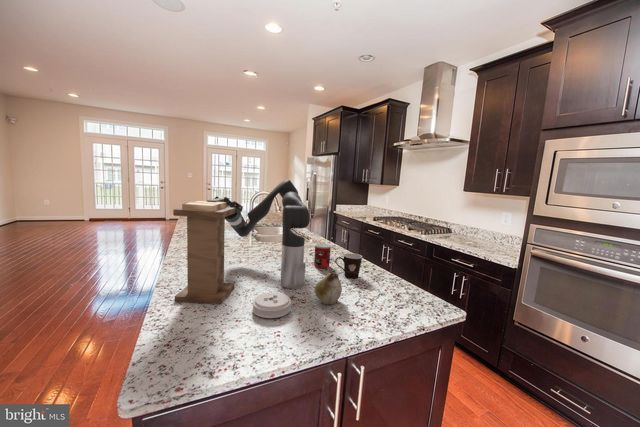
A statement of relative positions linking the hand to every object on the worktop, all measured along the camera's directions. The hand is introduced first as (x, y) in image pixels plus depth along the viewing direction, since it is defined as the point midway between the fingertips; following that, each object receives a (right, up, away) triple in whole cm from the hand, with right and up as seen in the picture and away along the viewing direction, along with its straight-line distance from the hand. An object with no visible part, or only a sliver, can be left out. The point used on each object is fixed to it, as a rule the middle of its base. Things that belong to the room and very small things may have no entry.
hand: (220, 198), depth 109 cm
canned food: (+41, -33, +31) cm, 61 cm away
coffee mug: (+54, -36, +19) cm, 67 cm away
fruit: (+43, -39, -9) cm, 58 cm away
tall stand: (-2, -36, -9) cm, 37 cm away
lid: (+24, -39, -18) cm, 49 cm away
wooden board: (0, -3, -7) cm, 8 cm away
